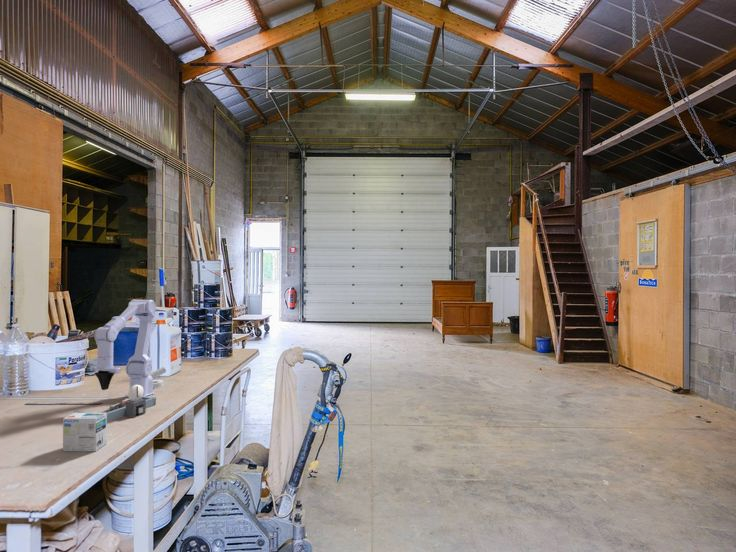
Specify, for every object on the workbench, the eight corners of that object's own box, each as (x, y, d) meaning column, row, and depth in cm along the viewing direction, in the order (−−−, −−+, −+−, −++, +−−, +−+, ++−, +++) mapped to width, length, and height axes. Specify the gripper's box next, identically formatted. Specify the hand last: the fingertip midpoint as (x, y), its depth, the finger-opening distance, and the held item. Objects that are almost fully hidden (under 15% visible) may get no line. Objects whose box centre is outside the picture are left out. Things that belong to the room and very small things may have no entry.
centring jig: (131, 401, 201) (132, 374, 201) (165, 406, 195) (165, 378, 195) (73, 419, 176) (74, 388, 176) (110, 425, 170) (110, 393, 170)
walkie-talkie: (127, 403, 199) (96, 418, 179) (127, 393, 199) (96, 406, 179) (146, 404, 198) (117, 419, 178) (146, 394, 198) (118, 407, 178)
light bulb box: (107, 444, 152) (107, 411, 152) (96, 452, 146) (96, 418, 145) (74, 444, 152) (74, 411, 152) (61, 452, 145) (62, 418, 145)
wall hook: (168, 367, 226) (146, 370, 220) (168, 387, 226) (146, 390, 220) (164, 364, 233) (142, 367, 227) (163, 383, 233) (142, 386, 227)
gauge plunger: (127, 409, 186) (127, 404, 186) (142, 412, 183) (142, 407, 183) (123, 411, 184) (123, 406, 184) (138, 413, 181) (138, 408, 181)
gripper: (83, 356, 187) (83, 389, 187) (110, 359, 182) (109, 393, 182) (98, 353, 194) (98, 385, 194) (125, 356, 189) (124, 389, 189)
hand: (105, 389), depth 189 cm, fingers closed
